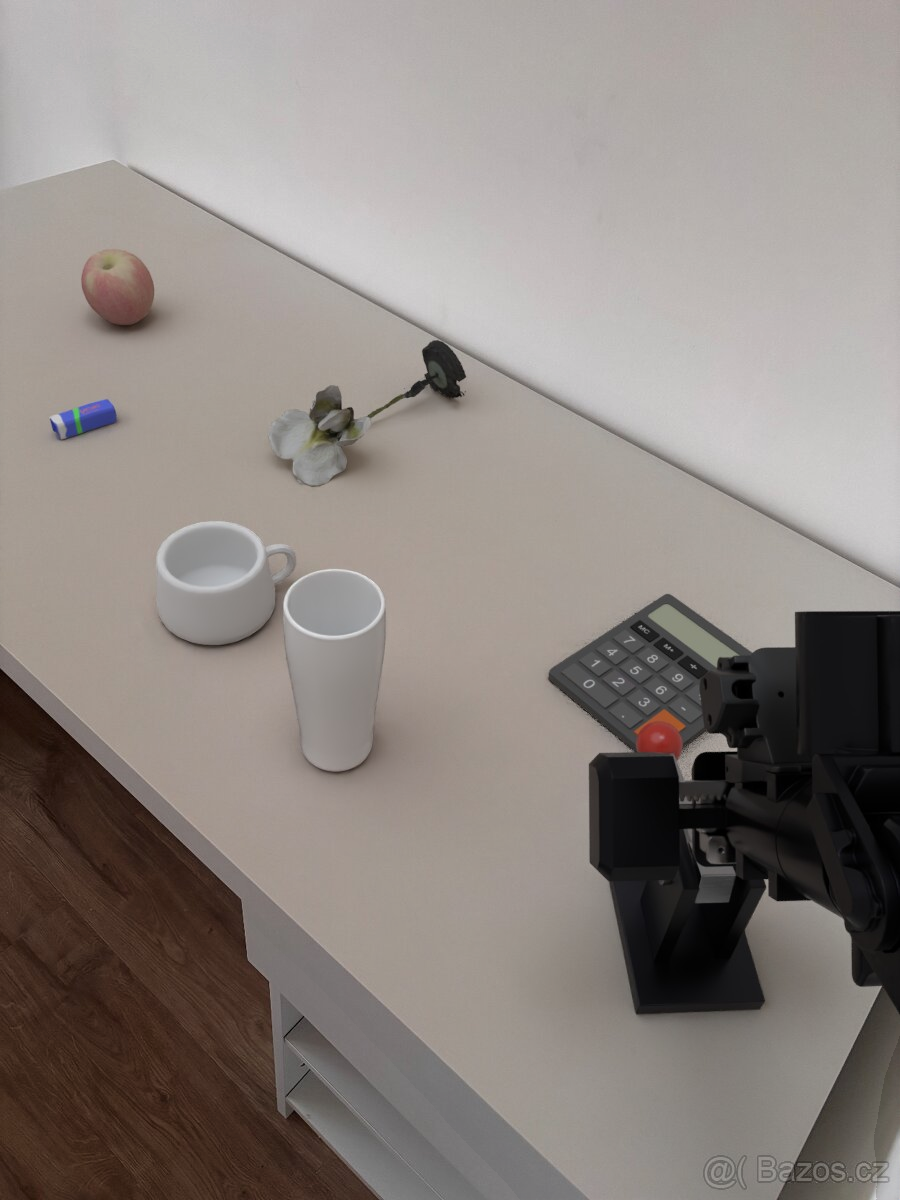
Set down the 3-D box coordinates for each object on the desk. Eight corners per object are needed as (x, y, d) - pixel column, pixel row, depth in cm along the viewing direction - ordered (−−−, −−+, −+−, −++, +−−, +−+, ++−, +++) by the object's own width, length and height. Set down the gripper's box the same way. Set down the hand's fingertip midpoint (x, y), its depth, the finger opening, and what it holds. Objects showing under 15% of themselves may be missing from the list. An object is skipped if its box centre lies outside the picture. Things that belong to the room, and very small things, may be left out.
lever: (628, 747, 76) (634, 712, 74) (672, 747, 76) (679, 711, 75) (684, 909, 63) (693, 871, 62) (736, 907, 64) (747, 869, 62)
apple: (77, 313, 121) (64, 247, 116) (140, 297, 125) (130, 232, 119) (106, 345, 117) (94, 277, 111) (170, 327, 120) (161, 261, 115)
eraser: (52, 431, 105) (48, 414, 103) (110, 414, 108) (107, 397, 106) (59, 441, 104) (55, 424, 102) (118, 424, 106) (115, 407, 105)
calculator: (547, 669, 84) (668, 590, 92) (546, 677, 85) (666, 598, 93) (658, 761, 78) (778, 668, 86) (656, 768, 79) (774, 676, 87)
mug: (179, 664, 84) (170, 610, 80) (143, 588, 90) (133, 533, 86) (319, 620, 88) (318, 566, 84) (276, 550, 94) (273, 497, 90)
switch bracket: (607, 872, 73) (633, 787, 66) (720, 869, 73) (757, 785, 67) (635, 1014, 65) (668, 935, 59) (760, 1009, 66) (807, 930, 59)
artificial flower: (478, 421, 113) (495, 358, 104) (303, 517, 104) (307, 456, 95) (427, 366, 116) (440, 300, 107) (253, 455, 107) (251, 390, 98)
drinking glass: (395, 726, 81) (402, 582, 70) (361, 795, 76) (363, 651, 66) (313, 701, 82) (308, 556, 72) (275, 766, 77) (263, 621, 67)
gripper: (1032, 658, 48) (865, 650, 64) (630, 660, 46) (559, 652, 62) (1037, 904, 48) (868, 837, 63) (632, 917, 46) (561, 844, 62)
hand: (716, 788), depth 62 cm, fingers closed
